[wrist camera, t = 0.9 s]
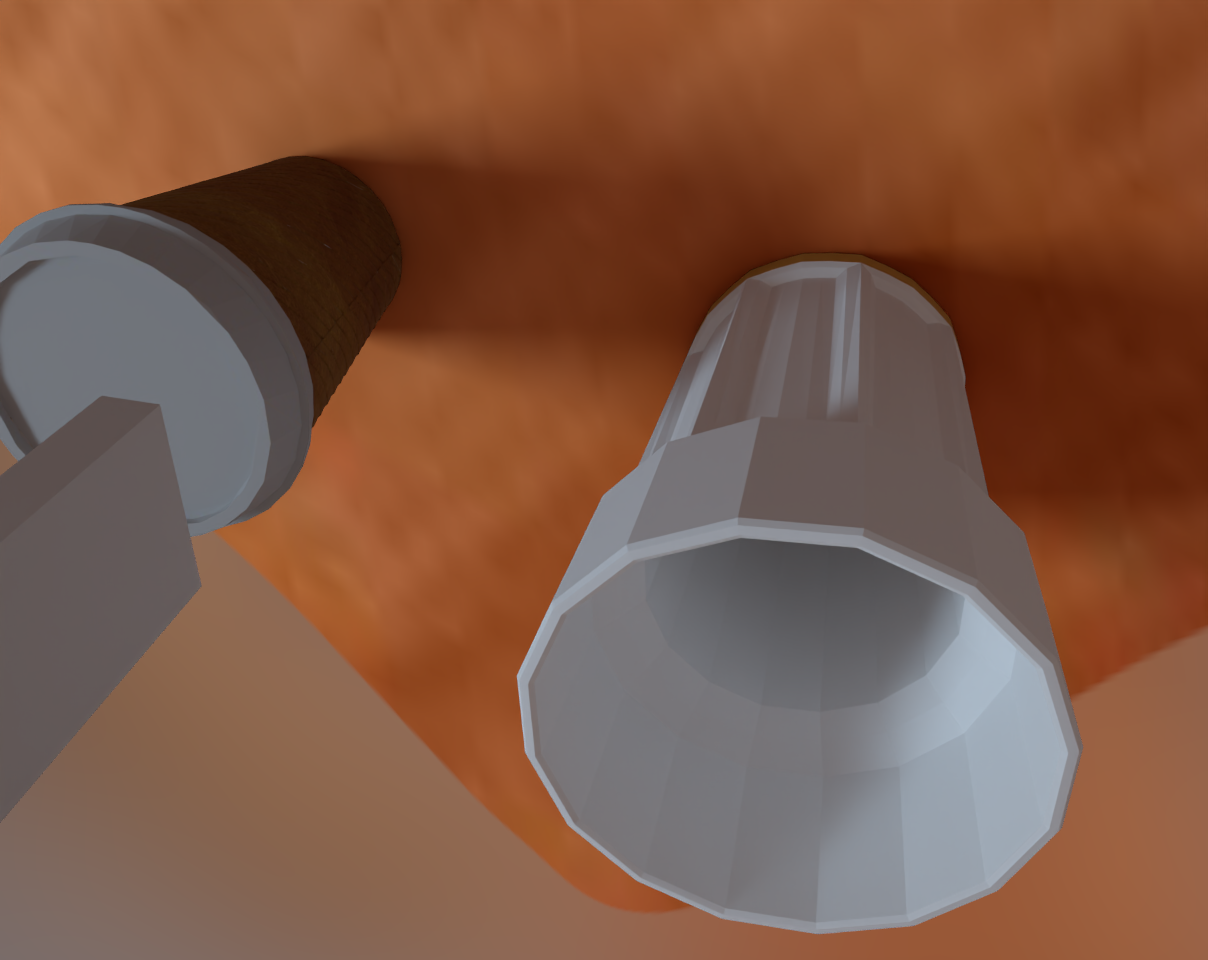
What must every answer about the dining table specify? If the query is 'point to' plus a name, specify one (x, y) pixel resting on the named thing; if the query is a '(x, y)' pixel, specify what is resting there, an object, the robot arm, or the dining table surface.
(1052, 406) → the dining table surface
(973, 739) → the cup
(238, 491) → the disposable coffee cup
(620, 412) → the dining table surface
